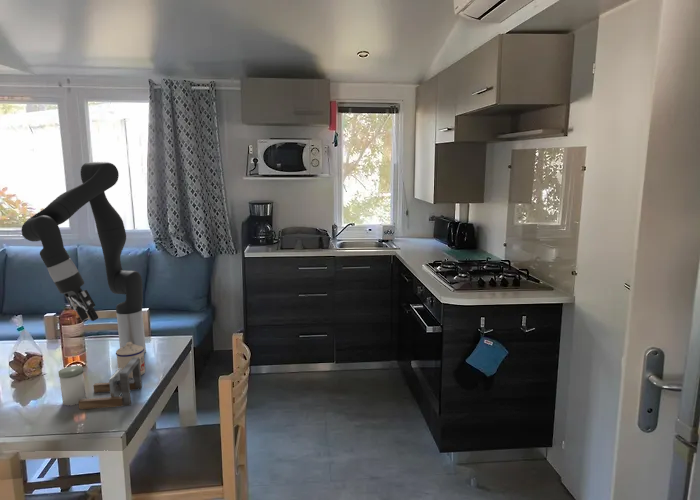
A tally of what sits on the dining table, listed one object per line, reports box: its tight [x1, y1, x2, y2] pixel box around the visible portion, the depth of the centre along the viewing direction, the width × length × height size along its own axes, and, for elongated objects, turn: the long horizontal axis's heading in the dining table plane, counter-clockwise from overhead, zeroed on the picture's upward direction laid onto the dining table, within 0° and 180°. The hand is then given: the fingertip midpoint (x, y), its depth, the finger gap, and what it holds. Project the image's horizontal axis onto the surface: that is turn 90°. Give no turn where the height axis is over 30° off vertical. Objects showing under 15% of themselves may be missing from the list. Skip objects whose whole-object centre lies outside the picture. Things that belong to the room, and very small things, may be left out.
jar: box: [58, 365, 87, 407], centre depth 152 cm, size 7×7×10 cm
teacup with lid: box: [115, 342, 146, 380], centre depth 173 cm, size 12×9×12 cm
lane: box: [78, 357, 143, 410], centre depth 154 cm, size 13×14×10 cm
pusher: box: [108, 367, 134, 397], centre depth 155 cm, size 9×6×8 cm, turn 7°
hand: (90, 319), depth 160 cm, fingers open, 8 cm apart
